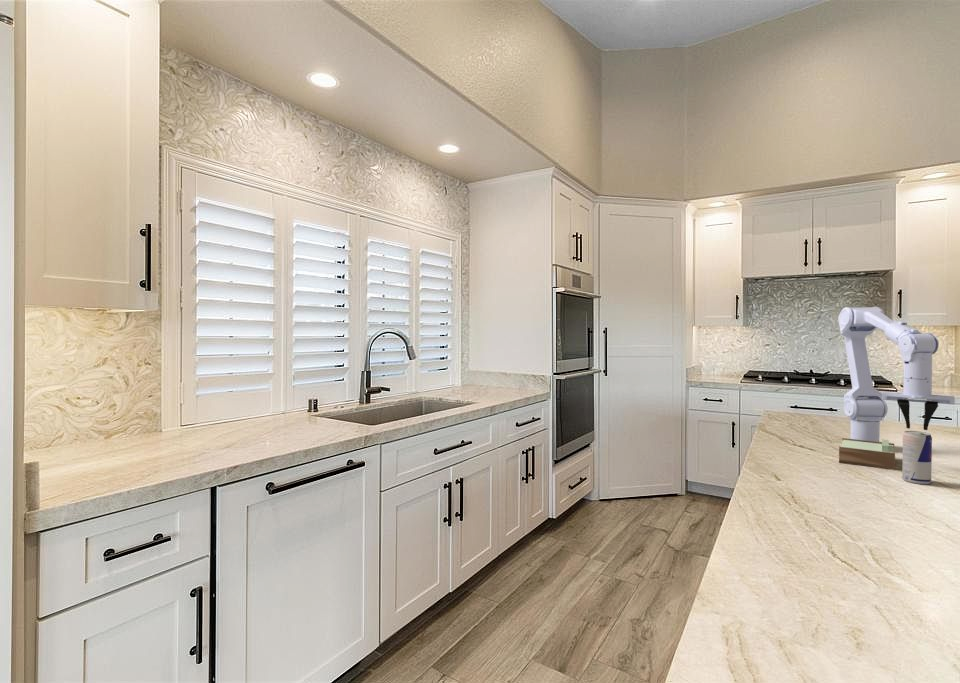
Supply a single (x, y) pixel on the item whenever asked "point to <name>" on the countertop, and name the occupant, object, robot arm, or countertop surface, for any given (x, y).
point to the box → (867, 456)
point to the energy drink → (917, 457)
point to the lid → (869, 445)
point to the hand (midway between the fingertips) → (916, 428)
